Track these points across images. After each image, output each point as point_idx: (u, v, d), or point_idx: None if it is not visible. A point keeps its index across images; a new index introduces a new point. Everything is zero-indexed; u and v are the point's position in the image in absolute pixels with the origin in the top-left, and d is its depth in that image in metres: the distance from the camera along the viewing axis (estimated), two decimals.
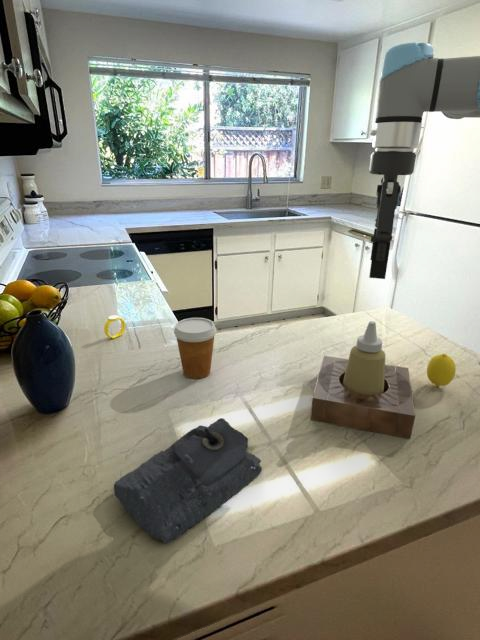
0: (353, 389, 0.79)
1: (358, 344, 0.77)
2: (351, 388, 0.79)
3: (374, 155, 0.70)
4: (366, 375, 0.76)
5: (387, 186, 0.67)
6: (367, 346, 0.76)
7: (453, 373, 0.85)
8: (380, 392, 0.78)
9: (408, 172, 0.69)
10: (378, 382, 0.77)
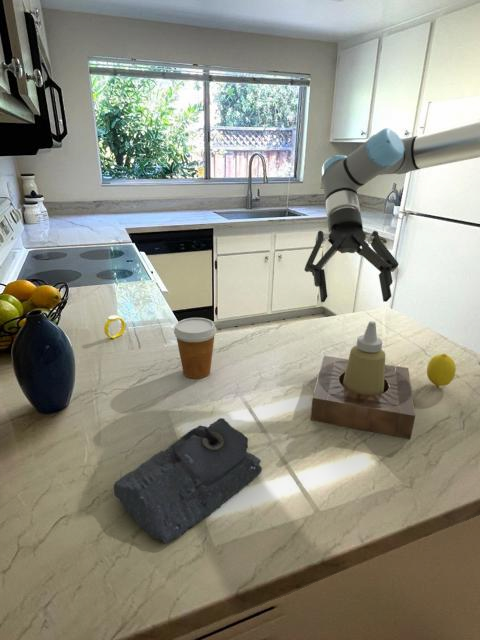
0: (353, 389, 0.79)
1: (358, 344, 0.77)
2: (351, 388, 0.79)
3: None
4: (366, 375, 0.76)
5: (316, 237, 0.91)
6: (367, 346, 0.76)
7: (453, 373, 0.85)
8: (380, 392, 0.78)
9: (338, 221, 0.89)
10: (378, 382, 0.77)
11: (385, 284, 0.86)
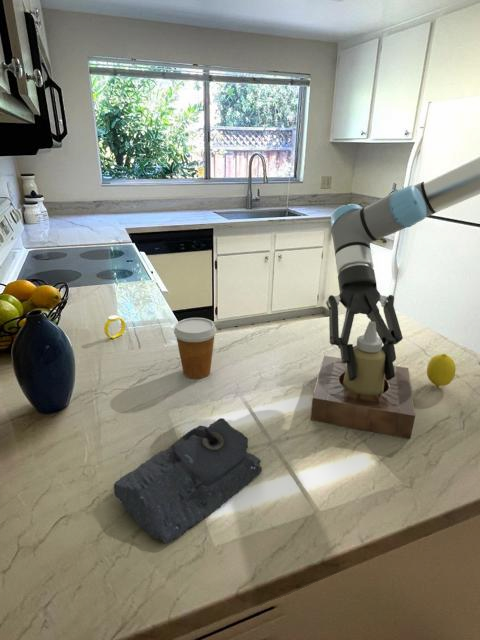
0: (353, 389, 0.79)
1: (358, 344, 0.77)
2: (351, 388, 0.79)
3: None
4: (366, 375, 0.76)
5: (327, 302, 0.83)
6: (367, 346, 0.76)
7: (453, 373, 0.85)
8: (380, 392, 0.78)
9: (350, 280, 0.81)
10: (378, 382, 0.77)
11: (388, 361, 0.77)
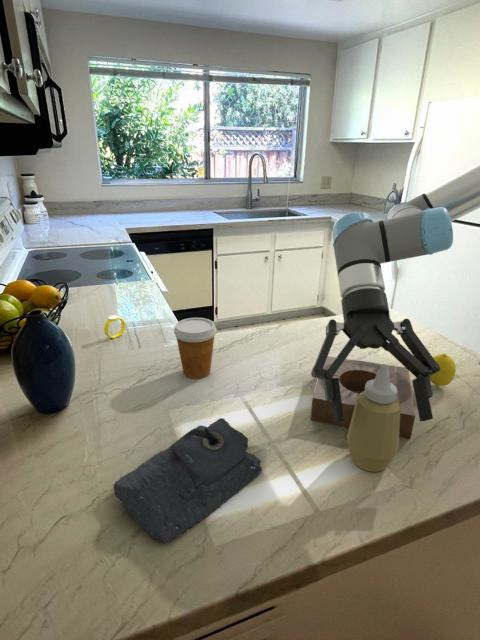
0: (360, 447, 0.63)
1: (367, 392, 0.62)
2: (358, 446, 0.63)
3: None
4: (377, 432, 0.61)
5: (327, 327, 0.68)
6: (378, 395, 0.60)
7: (453, 373, 0.85)
8: (394, 451, 0.63)
9: (356, 307, 0.66)
10: (392, 439, 0.62)
11: (423, 399, 0.62)
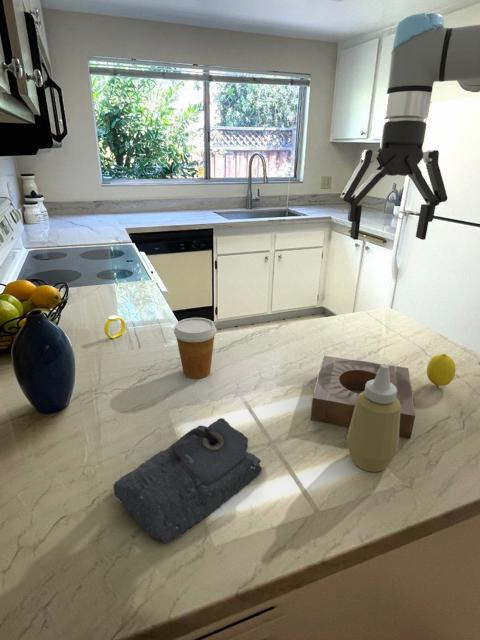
0: (360, 447, 0.63)
1: (367, 392, 0.62)
2: (358, 446, 0.63)
3: None
4: (377, 432, 0.61)
5: (363, 153, 0.75)
6: (378, 395, 0.60)
7: (453, 373, 0.85)
8: (394, 451, 0.63)
9: (394, 141, 0.71)
10: (392, 439, 0.62)
11: (423, 224, 0.79)
